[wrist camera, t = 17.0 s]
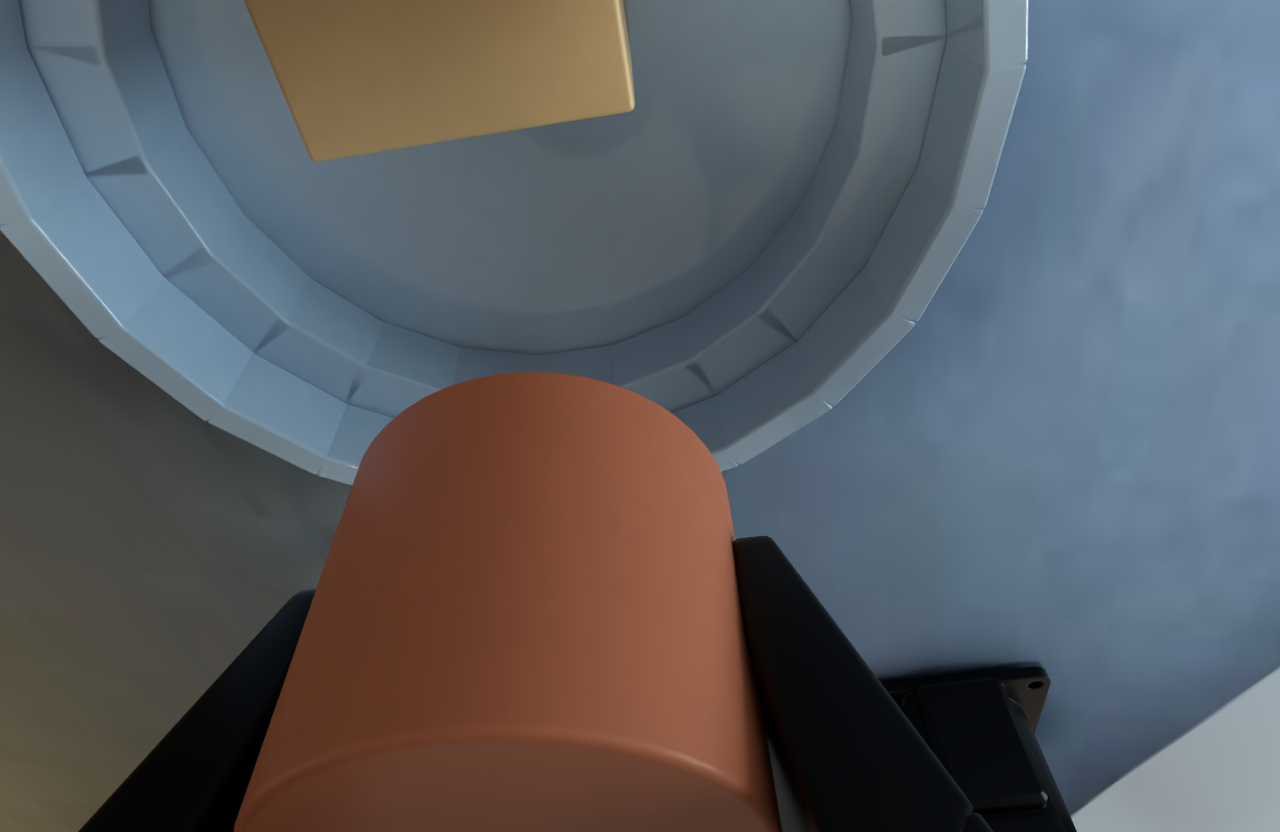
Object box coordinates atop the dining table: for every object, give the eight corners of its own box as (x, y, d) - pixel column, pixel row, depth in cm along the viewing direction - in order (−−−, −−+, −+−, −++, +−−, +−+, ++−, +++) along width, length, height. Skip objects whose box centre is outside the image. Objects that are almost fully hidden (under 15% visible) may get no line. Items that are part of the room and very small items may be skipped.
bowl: (908, 346, 19) (966, 460, 16) (286, 430, 20) (229, 553, 17) (995, -712, 9) (1184, -935, 6) (-206, -445, 10) (-545, -527, 7)
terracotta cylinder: (739, 607, 11) (791, 944, 8) (424, 643, 11) (353, 982, 8) (711, 340, 8) (776, 702, 5) (292, 397, 8) (108, 773, 5)
